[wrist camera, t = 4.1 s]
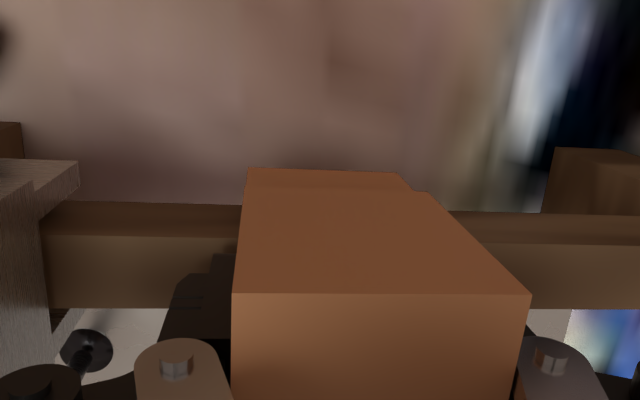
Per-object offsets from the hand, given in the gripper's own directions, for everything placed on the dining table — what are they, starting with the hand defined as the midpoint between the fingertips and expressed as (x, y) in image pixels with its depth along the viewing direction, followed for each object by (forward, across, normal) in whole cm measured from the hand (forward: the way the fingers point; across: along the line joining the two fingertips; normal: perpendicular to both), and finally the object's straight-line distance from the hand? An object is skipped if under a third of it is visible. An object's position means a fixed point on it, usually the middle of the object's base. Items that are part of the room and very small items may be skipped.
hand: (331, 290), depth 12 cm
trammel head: (+8, 0, +3) cm, 8 cm away
